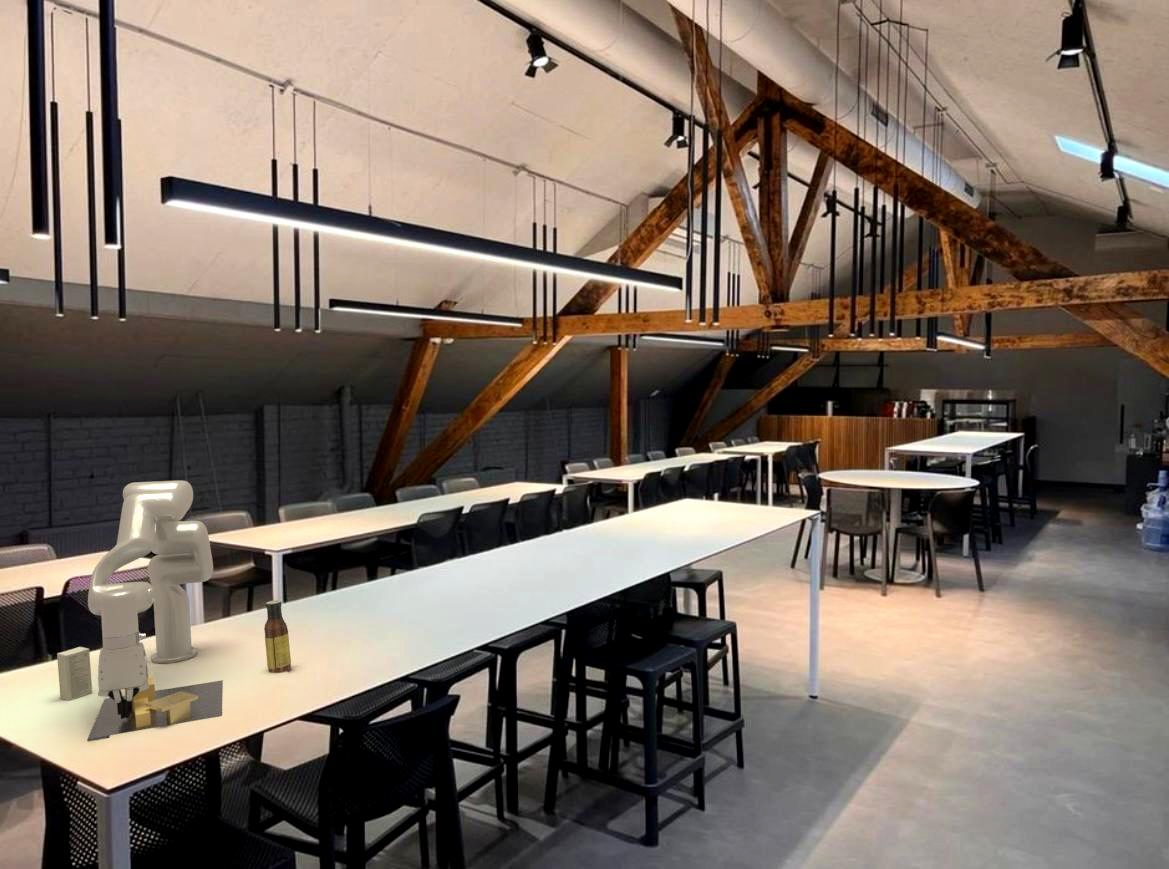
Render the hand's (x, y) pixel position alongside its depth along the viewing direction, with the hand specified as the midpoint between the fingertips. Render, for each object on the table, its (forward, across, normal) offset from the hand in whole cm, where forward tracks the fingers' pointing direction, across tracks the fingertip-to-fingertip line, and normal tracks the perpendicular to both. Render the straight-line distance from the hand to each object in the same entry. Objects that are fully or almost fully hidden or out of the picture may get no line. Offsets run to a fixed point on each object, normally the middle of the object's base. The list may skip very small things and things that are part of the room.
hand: (125, 716), depth 195 cm
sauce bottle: (+1, -36, -22) cm, 42 cm away
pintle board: (+1, -7, -5) cm, 9 cm away
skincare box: (+1, +14, -27) cm, 31 cm away
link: (+1, -3, -3) cm, 4 cm away
